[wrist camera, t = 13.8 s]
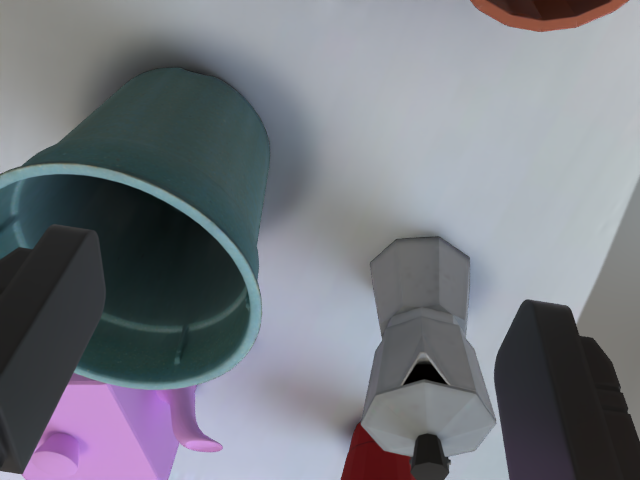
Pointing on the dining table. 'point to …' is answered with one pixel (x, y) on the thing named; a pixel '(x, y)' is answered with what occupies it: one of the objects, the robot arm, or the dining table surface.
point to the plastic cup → (373, 460)
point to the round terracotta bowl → (546, 12)
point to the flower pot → (158, 225)
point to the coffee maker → (425, 358)
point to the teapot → (116, 433)
